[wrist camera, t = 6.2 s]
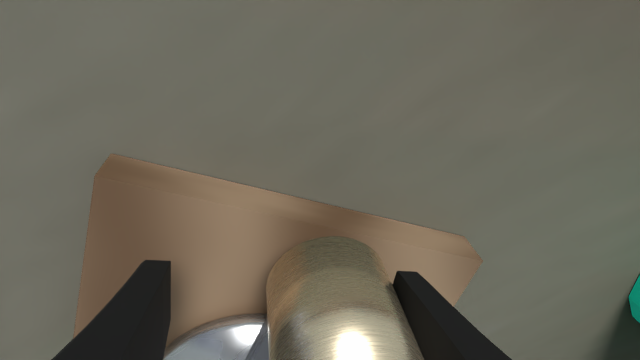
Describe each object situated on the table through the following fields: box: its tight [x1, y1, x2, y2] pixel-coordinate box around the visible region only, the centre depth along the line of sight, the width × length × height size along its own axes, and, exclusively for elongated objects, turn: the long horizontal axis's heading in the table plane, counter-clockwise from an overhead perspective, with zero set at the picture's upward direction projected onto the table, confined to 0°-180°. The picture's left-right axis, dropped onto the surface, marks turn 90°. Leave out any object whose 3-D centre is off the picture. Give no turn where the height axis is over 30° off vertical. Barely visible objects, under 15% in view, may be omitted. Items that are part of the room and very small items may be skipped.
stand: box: [73, 154, 483, 349], centre depth 16 cm, size 13×13×2 cm
